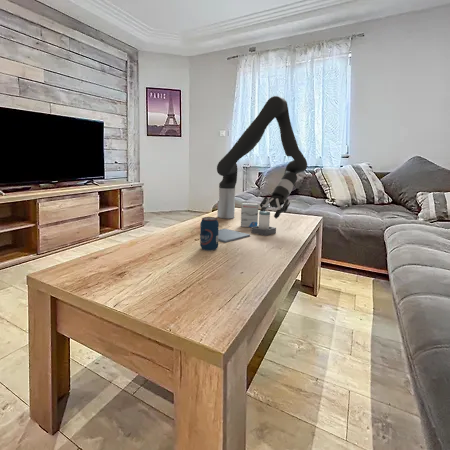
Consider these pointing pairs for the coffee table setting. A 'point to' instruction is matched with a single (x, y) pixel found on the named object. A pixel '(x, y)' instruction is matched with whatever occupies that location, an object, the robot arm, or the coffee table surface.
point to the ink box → (249, 215)
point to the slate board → (230, 235)
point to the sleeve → (263, 231)
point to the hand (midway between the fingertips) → (267, 216)
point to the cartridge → (264, 220)
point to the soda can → (209, 233)
